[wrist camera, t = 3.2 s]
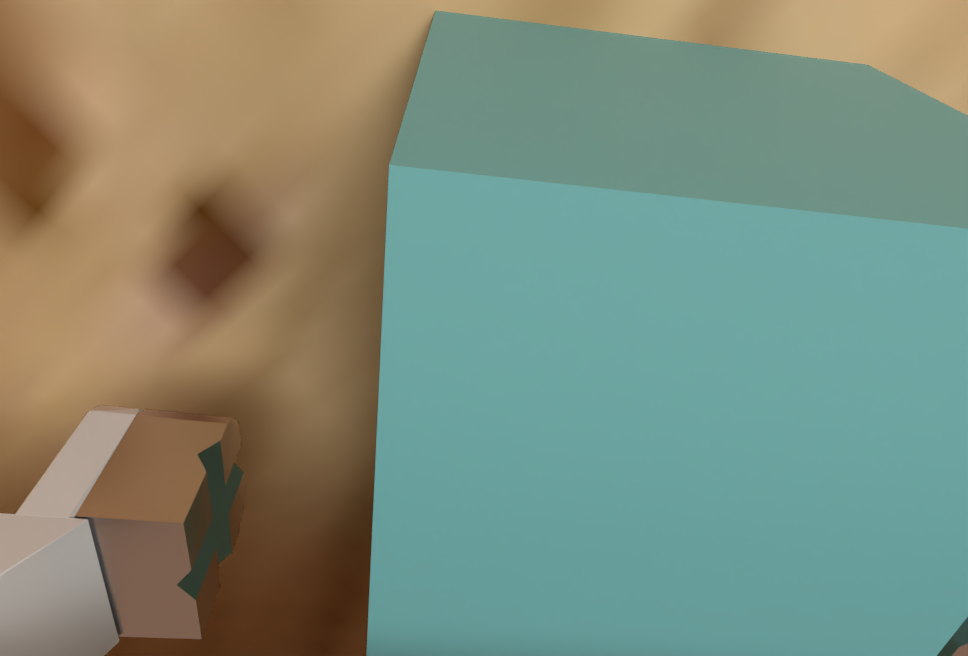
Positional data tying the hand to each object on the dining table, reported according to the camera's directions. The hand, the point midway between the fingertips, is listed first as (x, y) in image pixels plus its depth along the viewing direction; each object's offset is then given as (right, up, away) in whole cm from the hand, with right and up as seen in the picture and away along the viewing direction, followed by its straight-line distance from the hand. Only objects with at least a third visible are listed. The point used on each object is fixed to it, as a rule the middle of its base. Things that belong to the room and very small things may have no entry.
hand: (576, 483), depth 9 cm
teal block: (0, +2, +2) cm, 2 cm away
